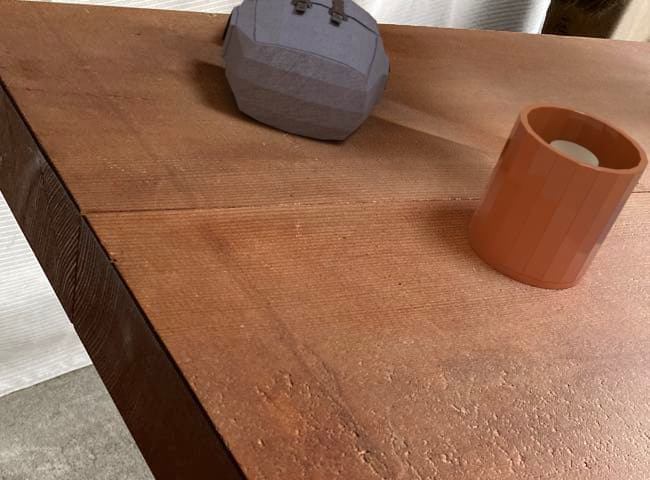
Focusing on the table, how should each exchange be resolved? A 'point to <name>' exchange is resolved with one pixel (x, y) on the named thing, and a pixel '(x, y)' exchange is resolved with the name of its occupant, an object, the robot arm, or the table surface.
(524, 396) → the table surface
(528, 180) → the orange cup
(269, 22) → the small grey backpack
